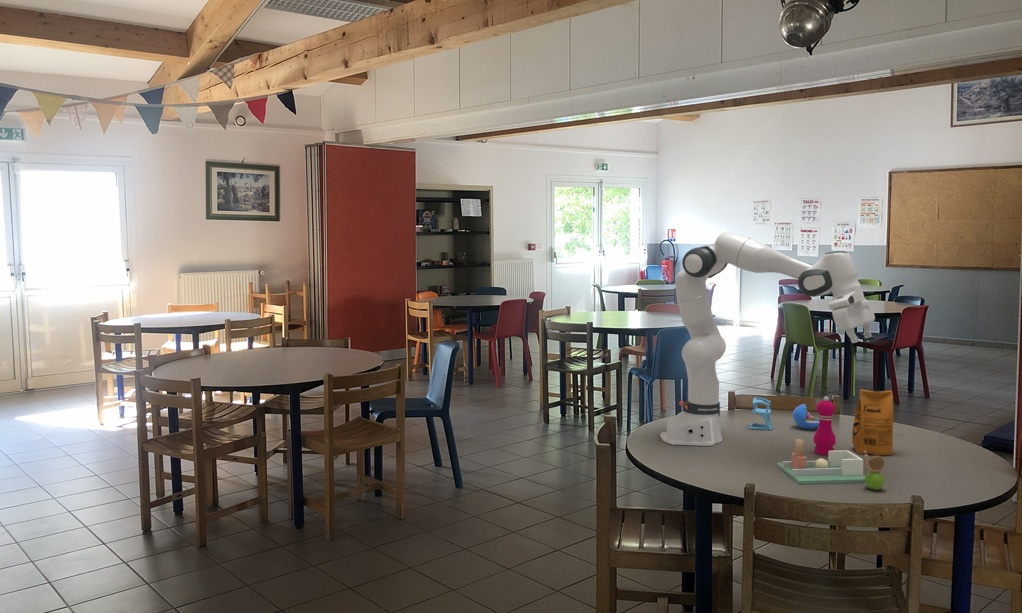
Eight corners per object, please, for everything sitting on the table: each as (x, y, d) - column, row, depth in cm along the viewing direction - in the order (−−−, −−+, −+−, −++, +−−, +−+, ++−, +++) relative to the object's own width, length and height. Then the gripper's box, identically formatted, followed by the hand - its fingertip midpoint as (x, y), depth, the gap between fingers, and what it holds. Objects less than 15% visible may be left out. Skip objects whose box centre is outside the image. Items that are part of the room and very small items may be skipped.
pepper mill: (837, 456, 268) (839, 399, 265) (815, 455, 269) (817, 398, 267) (833, 450, 275) (835, 394, 272) (811, 449, 276) (813, 393, 274)
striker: (797, 473, 246) (798, 442, 245) (791, 468, 251) (792, 437, 250) (805, 472, 246) (806, 442, 245) (799, 467, 251) (800, 437, 250)
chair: (771, 431, 299) (771, 401, 297) (748, 429, 302) (749, 399, 301) (773, 426, 306) (774, 396, 304) (751, 424, 309) (752, 395, 308)
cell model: (826, 433, 296) (827, 408, 295) (792, 430, 300) (793, 406, 299) (823, 426, 306) (824, 402, 305) (791, 424, 309) (792, 400, 308)
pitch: (799, 484, 240) (799, 465, 239) (776, 465, 258) (777, 448, 257) (869, 482, 241) (869, 463, 240) (841, 464, 259) (842, 446, 258)
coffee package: (850, 446, 279) (852, 386, 276) (888, 448, 276) (890, 387, 273) (855, 454, 269) (857, 392, 267) (894, 457, 266) (897, 393, 264)
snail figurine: (857, 486, 237) (859, 448, 236) (877, 485, 238) (879, 447, 237) (867, 492, 232) (869, 453, 231) (887, 492, 233) (889, 452, 231)
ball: (818, 473, 247) (818, 460, 247) (812, 468, 251) (813, 456, 251) (830, 472, 247) (830, 460, 247) (824, 468, 251) (825, 456, 251)
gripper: (854, 296, 261) (866, 336, 260) (825, 305, 248) (838, 347, 247) (872, 292, 257) (885, 332, 255) (844, 300, 243) (857, 343, 242)
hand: (862, 339), depth 251 cm, fingers open, 8 cm apart
